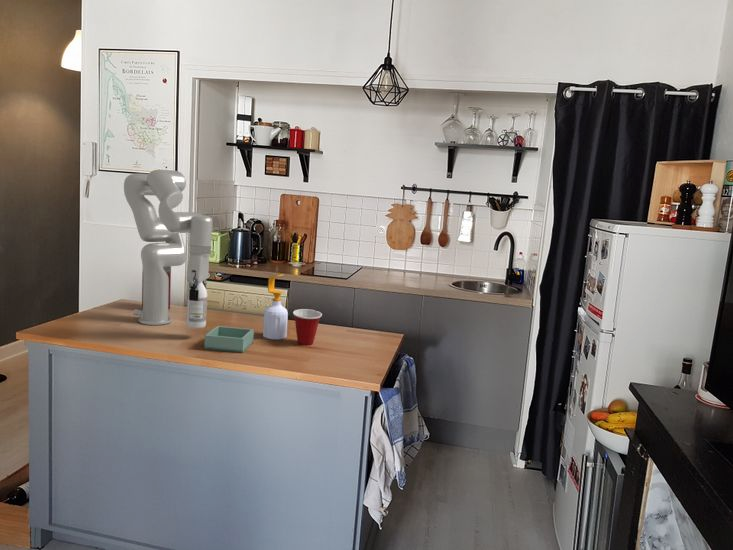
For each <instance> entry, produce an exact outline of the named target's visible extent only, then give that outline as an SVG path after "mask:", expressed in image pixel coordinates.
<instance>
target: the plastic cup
mask: <svg viewBox="0 0 733 550" xmlns="http://www.w3.org/2000/svg"><path fill="white" fill-rule="evenodd" d="M292 314H293V317H294V321H295V323H294V324H295V330H296V339H297V344H298V345H300V346H311V345H313V344H314V342H315V338H316V336H317V335H316V334H317V330H318V325H319V322H320V319H321V317H322V316H323V313H322V312H320V311H319V310H318V311H317V310H314V309H308V308H300V309H294V311H293V312H292Z"/></svg>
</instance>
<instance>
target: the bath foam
mask: <svg viewBox="0 0 733 550" xmlns="http://www.w3.org/2000/svg"><path fill="white" fill-rule="evenodd" d="M194 281H197V280H194ZM202 282H203V281H201V282H199V286H198V290H199V295H198V301H193V300H189V291H188V292H187V299H186V300H187V302H186V303H187V304H186V322H185V323H186V324H185V325H186V327H187V328H189V329H203V328H205V327H206V325H207V312H208V311H207V310H208V309H207V308H208V290H207V287H206V288H205V286H206V285H205V286H204V285H203V283H202ZM195 285H196V283H195Z"/></svg>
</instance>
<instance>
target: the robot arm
mask: <svg viewBox="0 0 733 550" xmlns="http://www.w3.org/2000/svg"><path fill="white" fill-rule="evenodd" d="M186 183H187V181H186V178H185V176H184V174H183V173H182V172H180V171H179V170H178V171H177V170H168V169H155V170H151V171H150V172H149V173H132V174H128V175H127V176H126V177H125V179H124V182H123V192H124V197H125V200H126V202H127V204H128V206H129V207H130V210H131V212H132V214H133V218H134V222H135V225H136V229H137V233H138V235H139V237H140V239H141V241H143V242H146V243H147V242H148V244H145V245H144V246H143V247H142V248H141V250H140V258H141V264H142V271H143V310H142V309H134V310H133V316H139V318H138V323H140V324H142V325H147V326H148V325H149V326H160V325H161V326H162V325H167V324H171V323H172V322H173V318H172V317H171V316H169V310H168V294H169V278H168V275H167V273H166V272H165V270H164V269H163V267H168V266H171V267H179V266H182V265H184V264H185V263H186V261H187V249H186V246H185V245H186V244H185V242H184V239H183V234H189V246H188V255H189V256H188V264H187V271H186V280H187V282H188V286H189V288H188V289H189V290H188V292H189V300H193V301H198V295H199V290H198V286H199V282H201V281H203V282H202V283H203V285H204V286H205V288H206V289H207V281H208V278H209V271H210V255H211V254H212V236H213V235H212V233H213V218H212V217H211V216H208V215H203V214H202V213H200V212H195V211H193V212H192V211H191V212H190V211H189V212H188V211H187V212H186V211H184V212H183V211H174V210H173V209H175V208H176V207H178V206H179V205H180V204H181V203H182V201H183V198H184V194H183V191H184V190H185V189H186V187H187V184H186ZM146 196H154V197H156V199H158V201H159V204H158V214H157V211H156V208H155V206H154V204H153V203H152V202H151V201H150V200H149V199H148V198H146ZM194 280H197V281H194ZM195 283H196V285H195Z"/></svg>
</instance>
